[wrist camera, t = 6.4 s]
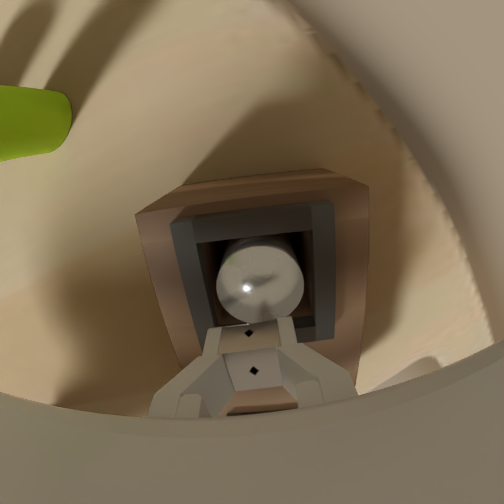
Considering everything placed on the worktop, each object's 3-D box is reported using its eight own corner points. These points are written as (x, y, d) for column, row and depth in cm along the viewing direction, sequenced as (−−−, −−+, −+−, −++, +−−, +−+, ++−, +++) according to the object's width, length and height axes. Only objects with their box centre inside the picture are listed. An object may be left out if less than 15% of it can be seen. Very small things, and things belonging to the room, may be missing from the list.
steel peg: (288, 257, 21) (305, 319, 14) (234, 263, 21) (224, 327, 14) (283, 203, 20) (301, 242, 12) (226, 210, 20) (208, 252, 12)
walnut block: (326, 379, 28) (344, 454, 19) (227, 389, 29) (219, 466, 20) (323, 168, 21) (376, 190, 11) (180, 185, 21) (126, 220, 12)
